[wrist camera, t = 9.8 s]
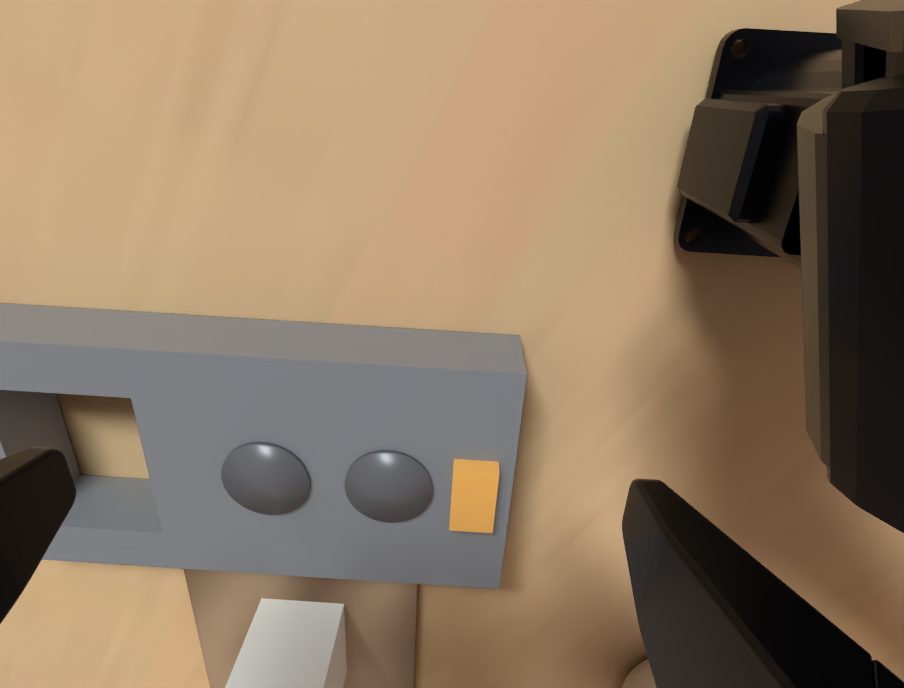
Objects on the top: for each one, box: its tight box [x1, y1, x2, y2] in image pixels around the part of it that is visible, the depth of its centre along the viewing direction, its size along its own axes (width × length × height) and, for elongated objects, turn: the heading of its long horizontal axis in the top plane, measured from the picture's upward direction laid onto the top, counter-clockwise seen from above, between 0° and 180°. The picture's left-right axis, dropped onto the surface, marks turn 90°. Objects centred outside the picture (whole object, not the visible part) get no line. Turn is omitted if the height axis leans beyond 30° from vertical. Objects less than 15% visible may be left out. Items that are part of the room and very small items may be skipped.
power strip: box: [0, 303, 527, 589], centre depth 21 cm, size 22×10×4 cm, turn 87°
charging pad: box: [184, 569, 418, 688], centre depth 28 cm, size 11×11×1 cm
